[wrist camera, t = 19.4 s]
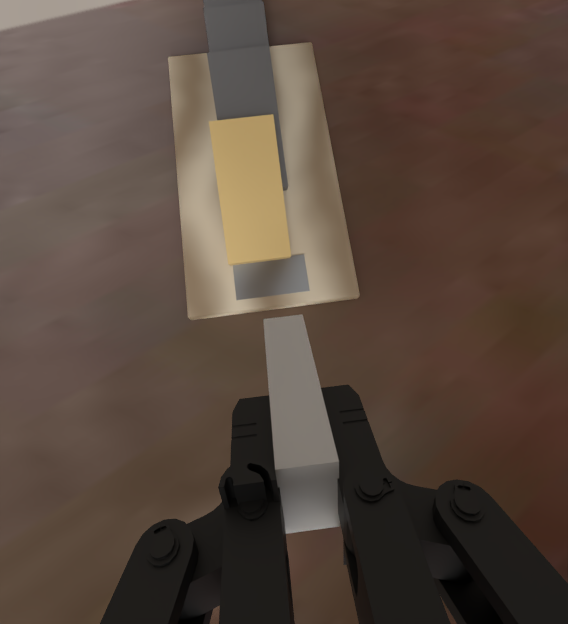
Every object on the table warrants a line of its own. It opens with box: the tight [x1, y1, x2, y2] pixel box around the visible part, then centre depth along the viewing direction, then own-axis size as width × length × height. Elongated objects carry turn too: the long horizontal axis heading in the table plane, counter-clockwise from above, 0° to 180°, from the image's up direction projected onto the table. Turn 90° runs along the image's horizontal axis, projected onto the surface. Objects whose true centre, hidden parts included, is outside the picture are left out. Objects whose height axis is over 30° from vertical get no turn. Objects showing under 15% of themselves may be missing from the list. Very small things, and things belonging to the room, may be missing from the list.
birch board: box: [168, 42, 360, 320], centre depth 34 cm, size 14×26×1 cm, turn 8°
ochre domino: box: [209, 114, 291, 266], centre depth 30 cm, size 5×2×11 cm
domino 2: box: [207, 45, 288, 191], centre depth 31 cm, size 5×2×11 cm
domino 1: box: [203, 2, 269, 52], centre depth 32 cm, size 5×2×11 cm
